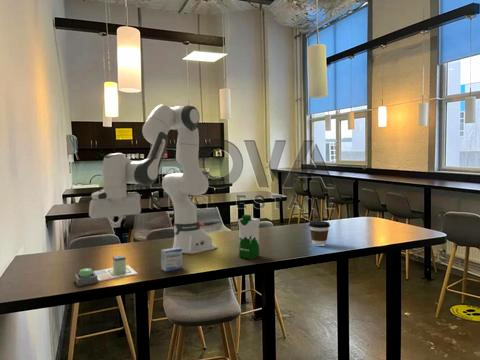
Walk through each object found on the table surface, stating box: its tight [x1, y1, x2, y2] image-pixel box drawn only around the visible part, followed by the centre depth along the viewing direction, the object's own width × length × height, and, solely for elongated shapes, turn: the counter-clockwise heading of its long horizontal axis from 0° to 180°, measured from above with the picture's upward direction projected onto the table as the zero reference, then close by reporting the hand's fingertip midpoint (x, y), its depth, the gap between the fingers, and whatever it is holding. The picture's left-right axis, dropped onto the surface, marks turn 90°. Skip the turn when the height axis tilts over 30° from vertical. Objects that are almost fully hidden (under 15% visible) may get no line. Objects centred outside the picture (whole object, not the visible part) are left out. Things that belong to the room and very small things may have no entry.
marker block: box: [112, 254, 127, 273], centre depth 153 cm, size 4×4×6 cm
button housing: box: [74, 270, 99, 287], centre depth 143 cm, size 7×7×2 cm
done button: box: [79, 267, 93, 278], centre depth 143 cm, size 4×4×3 cm
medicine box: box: [160, 247, 183, 272], centre depth 157 cm, size 8×4×9 cm, turn 126°
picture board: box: [93, 264, 138, 283], centre depth 152 cm, size 15×13×1 cm
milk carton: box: [237, 214, 261, 260], centre depth 173 cm, size 9×9×20 cm
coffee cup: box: [308, 220, 331, 245], centre depth 193 cm, size 11×11×12 cm
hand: (116, 227), depth 151 cm, fingers closed
